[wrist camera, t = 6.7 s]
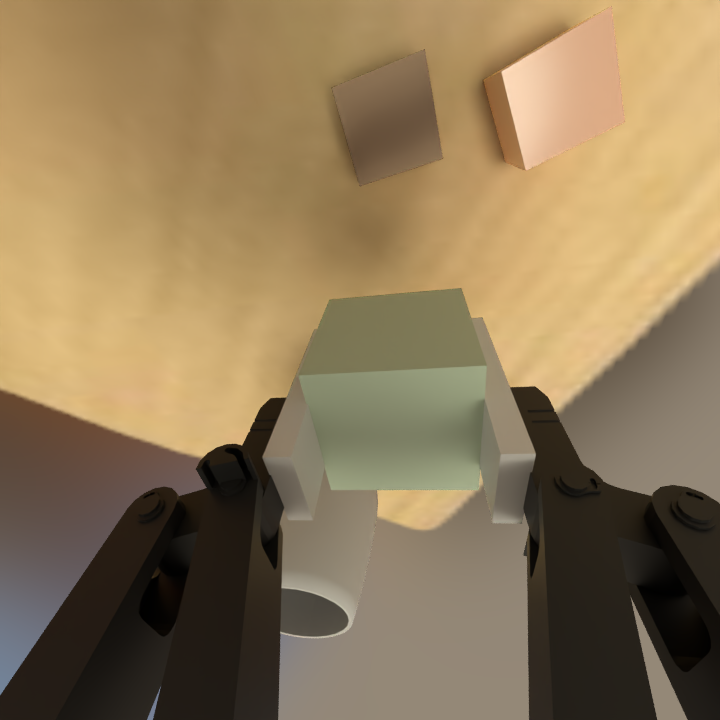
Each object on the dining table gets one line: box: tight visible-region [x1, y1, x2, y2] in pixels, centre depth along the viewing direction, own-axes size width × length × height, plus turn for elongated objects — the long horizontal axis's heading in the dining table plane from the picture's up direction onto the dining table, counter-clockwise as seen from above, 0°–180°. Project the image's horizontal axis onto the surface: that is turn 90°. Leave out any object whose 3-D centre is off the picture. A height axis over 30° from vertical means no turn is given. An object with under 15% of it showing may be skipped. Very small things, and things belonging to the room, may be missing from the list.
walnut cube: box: [332, 49, 443, 186], centre depth 22 cm, size 5×5×5 cm
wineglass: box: [280, 469, 378, 638], centre depth 27 cm, size 8×8×21 cm
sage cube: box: [298, 288, 487, 490], centre depth 13 cm, size 5×5×5 cm
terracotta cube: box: [483, 6, 625, 171], centre depth 20 cm, size 5×5×5 cm
